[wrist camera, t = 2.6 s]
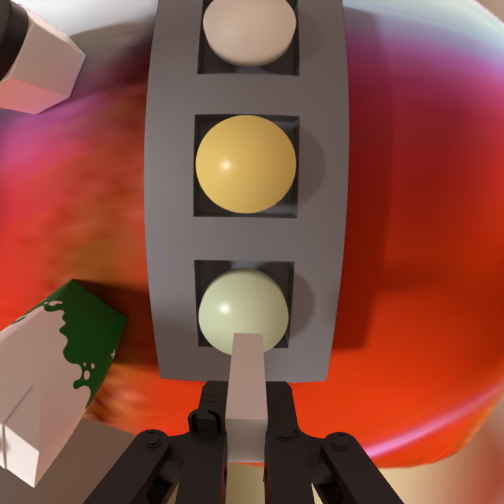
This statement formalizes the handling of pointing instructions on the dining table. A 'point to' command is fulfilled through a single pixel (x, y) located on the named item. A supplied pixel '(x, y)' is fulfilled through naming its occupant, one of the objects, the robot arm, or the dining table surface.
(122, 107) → the dining table surface
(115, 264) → the dining table surface
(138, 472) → the robot arm
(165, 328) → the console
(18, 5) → the jar
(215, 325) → the sage button
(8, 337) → the milk carton
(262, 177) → the mustard button
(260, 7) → the cream button
